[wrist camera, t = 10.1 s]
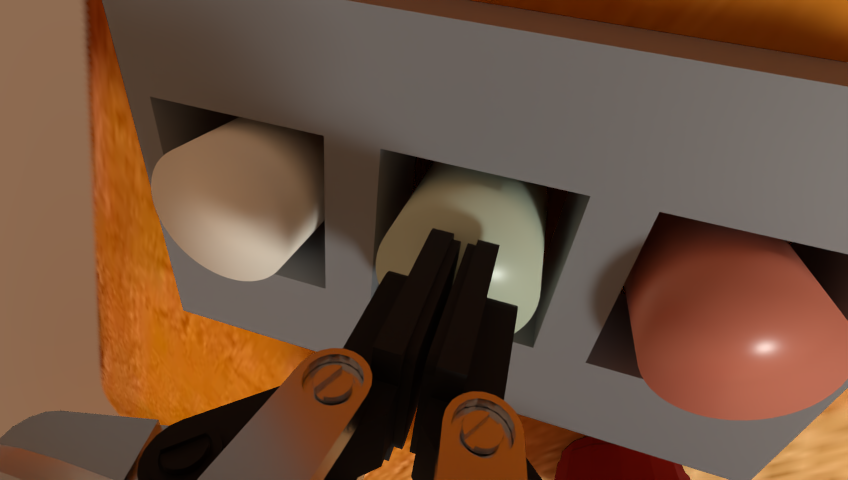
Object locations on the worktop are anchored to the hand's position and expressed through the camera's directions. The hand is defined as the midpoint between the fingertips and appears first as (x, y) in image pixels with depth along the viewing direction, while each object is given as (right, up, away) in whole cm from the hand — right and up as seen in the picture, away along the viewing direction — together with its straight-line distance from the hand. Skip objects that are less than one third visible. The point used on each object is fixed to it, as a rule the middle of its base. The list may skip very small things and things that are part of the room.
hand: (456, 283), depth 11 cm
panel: (+1, +3, +5) cm, 6 cm away
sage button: (+1, +3, +4) cm, 5 cm away
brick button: (+8, +1, +3) cm, 9 cm away
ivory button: (-5, +4, +6) cm, 9 cm away
